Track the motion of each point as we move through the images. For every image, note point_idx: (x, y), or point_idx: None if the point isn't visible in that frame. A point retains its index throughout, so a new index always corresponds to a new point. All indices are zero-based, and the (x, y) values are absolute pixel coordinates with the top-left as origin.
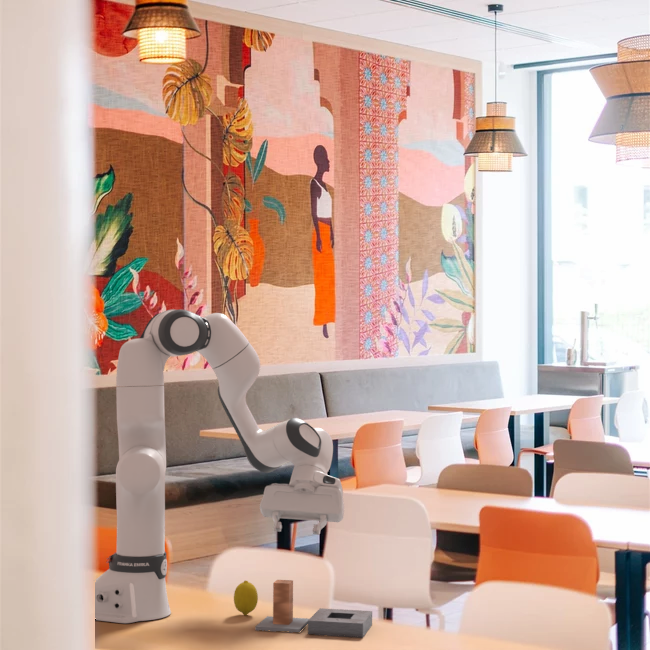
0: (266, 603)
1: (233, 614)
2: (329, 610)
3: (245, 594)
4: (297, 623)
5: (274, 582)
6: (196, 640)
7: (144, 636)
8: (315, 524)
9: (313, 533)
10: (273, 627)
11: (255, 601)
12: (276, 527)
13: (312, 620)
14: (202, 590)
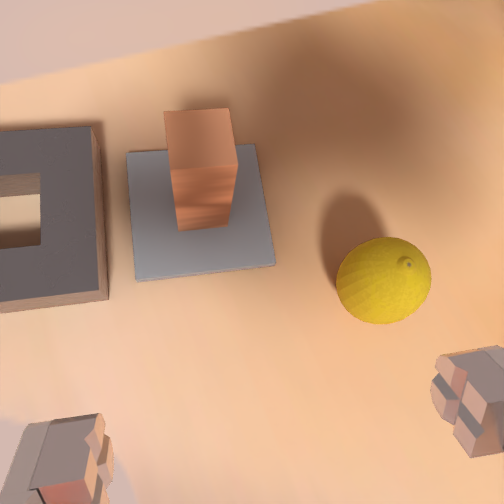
0: (386, 498)
1: None
2: (54, 269)
3: (370, 240)
4: (154, 209)
5: (226, 113)
6: (336, 38)
7: (452, 40)
8: (62, 480)
9: (106, 439)
10: None
11: (338, 275)
12: (471, 351)
13: (76, 128)
14: None
